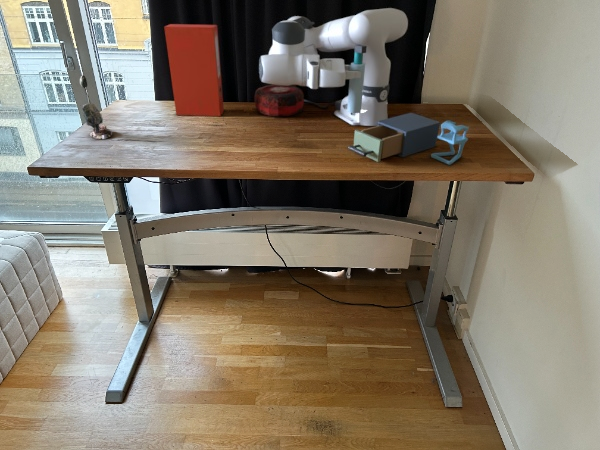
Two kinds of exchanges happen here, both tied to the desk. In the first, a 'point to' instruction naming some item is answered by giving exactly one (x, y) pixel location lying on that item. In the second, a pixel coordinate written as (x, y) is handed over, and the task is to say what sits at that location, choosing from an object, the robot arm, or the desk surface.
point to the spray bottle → (356, 81)
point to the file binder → (195, 69)
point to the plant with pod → (94, 117)
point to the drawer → (377, 142)
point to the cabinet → (414, 132)
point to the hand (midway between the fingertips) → (360, 72)
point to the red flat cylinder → (279, 100)
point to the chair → (451, 141)
